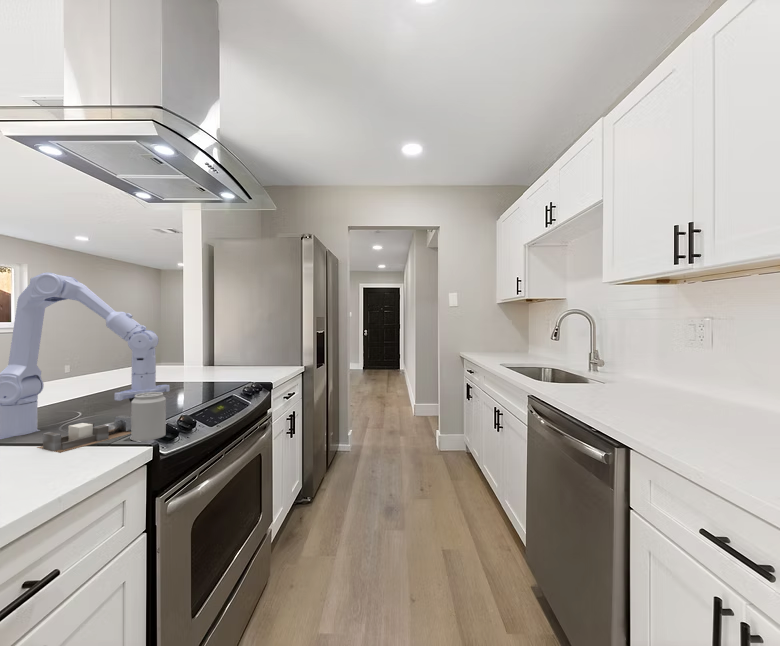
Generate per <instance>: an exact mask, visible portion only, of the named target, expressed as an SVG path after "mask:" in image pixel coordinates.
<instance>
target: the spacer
mask: <svg viewBox="0 0 780 646" xmlns="http://www.w3.org/2000/svg"><path fill="white" fill-rule="evenodd" d="M87 423H88V422H79V423H76V424H70V425H68V434H67V435H68V441H71V440H75V439H79V438H83V437H87V436H91V435H93V424H87Z"/></svg>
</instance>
